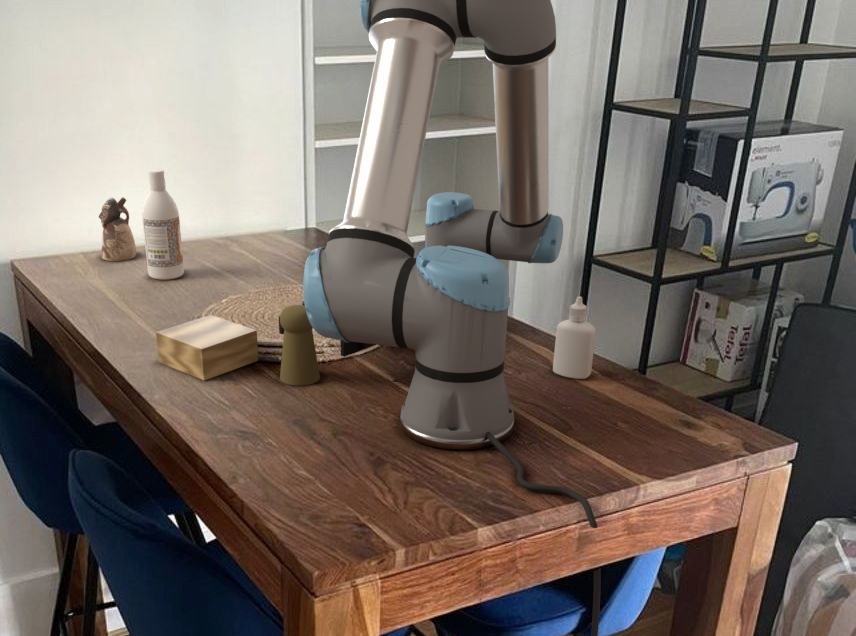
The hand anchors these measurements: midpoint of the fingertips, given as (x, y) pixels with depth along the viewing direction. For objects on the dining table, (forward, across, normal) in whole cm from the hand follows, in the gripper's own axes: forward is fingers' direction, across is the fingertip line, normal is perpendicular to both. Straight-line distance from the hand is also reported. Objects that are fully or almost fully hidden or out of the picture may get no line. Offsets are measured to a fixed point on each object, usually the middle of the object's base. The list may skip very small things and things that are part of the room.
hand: (310, 336), depth 151 cm
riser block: (+8, +15, -6) cm, 18 cm away
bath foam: (-15, +58, -6) cm, 60 cm away
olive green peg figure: (+2, 0, -6) cm, 7 cm away
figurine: (-16, +76, -6) cm, 78 cm away
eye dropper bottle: (-27, -28, -6) cm, 40 cm away
